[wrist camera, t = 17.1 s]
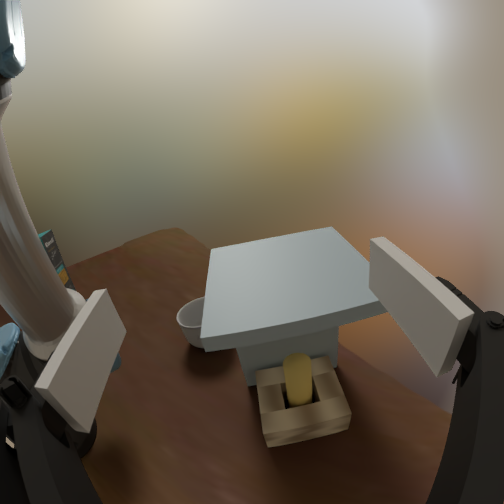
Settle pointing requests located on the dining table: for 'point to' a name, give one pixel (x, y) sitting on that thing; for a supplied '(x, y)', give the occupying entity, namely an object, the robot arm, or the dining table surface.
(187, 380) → the dining table surface
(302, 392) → the peg
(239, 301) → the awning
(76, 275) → the dining table surface
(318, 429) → the socket block
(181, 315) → the teacup
